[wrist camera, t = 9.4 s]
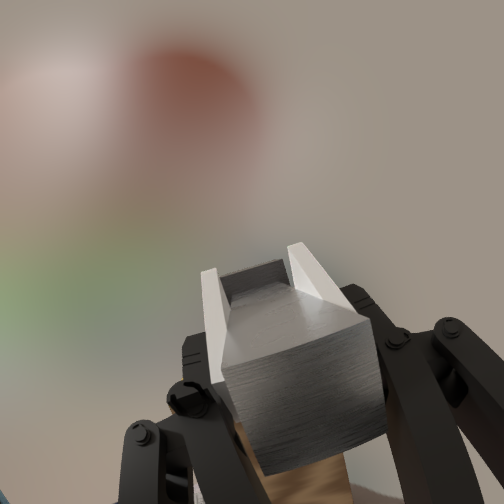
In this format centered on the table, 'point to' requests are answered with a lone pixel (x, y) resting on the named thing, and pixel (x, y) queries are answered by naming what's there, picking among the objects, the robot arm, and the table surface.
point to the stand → (303, 479)
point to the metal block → (298, 371)
